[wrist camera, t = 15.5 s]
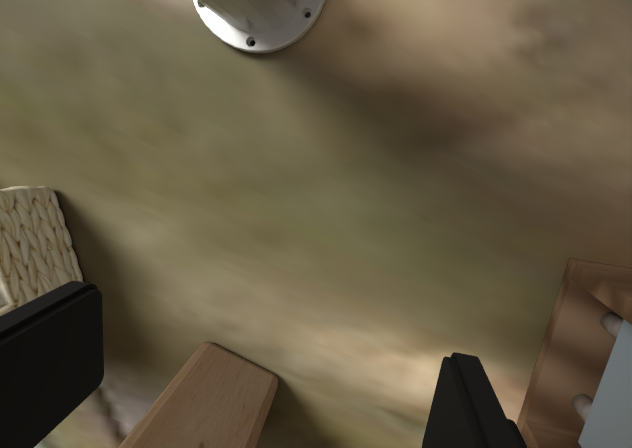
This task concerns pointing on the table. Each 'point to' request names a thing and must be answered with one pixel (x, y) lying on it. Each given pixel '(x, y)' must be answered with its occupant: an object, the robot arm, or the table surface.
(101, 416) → the table surface
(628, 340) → the grey rectangular block
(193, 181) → the table surface
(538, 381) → the peg frame
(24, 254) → the storage basket
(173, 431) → the wooden block
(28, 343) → the robot arm
